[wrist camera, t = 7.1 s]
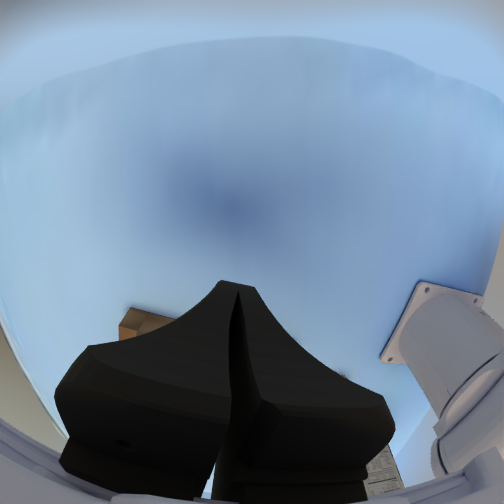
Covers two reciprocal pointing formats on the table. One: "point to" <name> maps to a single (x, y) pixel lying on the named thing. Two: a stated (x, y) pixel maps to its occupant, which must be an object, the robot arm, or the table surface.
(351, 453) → the robot arm
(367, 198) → the table surface
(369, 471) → the candy bar box
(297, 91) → the table surface
